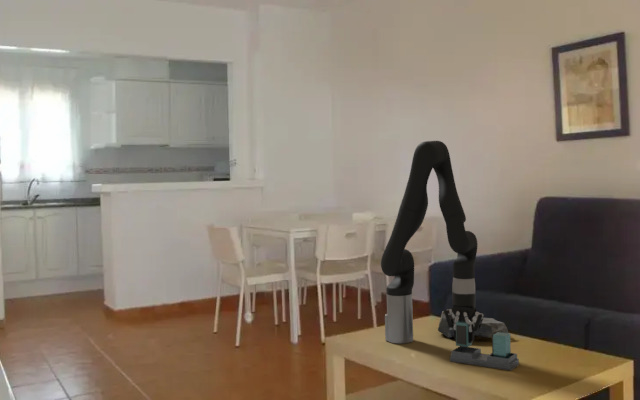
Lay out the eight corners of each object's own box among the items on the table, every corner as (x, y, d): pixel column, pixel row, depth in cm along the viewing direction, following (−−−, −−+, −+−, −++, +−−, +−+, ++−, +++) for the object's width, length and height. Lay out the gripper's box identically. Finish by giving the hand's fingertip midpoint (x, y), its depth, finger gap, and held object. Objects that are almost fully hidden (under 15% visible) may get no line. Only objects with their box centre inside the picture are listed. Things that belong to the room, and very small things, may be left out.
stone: (438, 307, 264) (503, 307, 260) (438, 328, 265) (504, 328, 260) (436, 320, 241) (509, 320, 236) (437, 343, 242) (509, 344, 237)
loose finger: (455, 345, 226) (455, 322, 226) (461, 342, 230) (460, 319, 229) (466, 347, 224) (466, 323, 223) (472, 344, 227) (471, 321, 227)
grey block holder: (450, 361, 217) (449, 330, 217) (459, 356, 223) (458, 326, 222) (510, 370, 205) (510, 338, 205) (518, 364, 211) (518, 333, 210)
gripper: (439, 290, 227) (439, 341, 228) (479, 295, 219) (479, 347, 220) (448, 287, 233) (449, 336, 234) (488, 291, 225) (488, 341, 226)
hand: (464, 341), depth 227 cm, fingers closed on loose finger, 4 cm apart
